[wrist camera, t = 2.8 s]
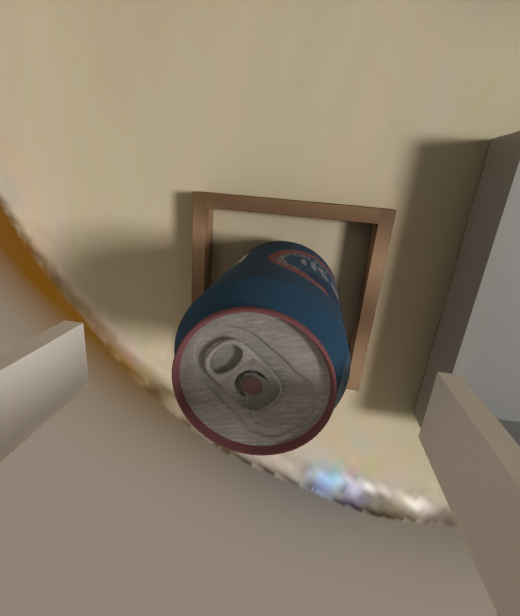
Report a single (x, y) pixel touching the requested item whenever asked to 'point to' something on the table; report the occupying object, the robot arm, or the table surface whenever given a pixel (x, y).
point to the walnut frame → (378, 216)
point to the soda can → (263, 352)
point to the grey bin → (485, 295)
